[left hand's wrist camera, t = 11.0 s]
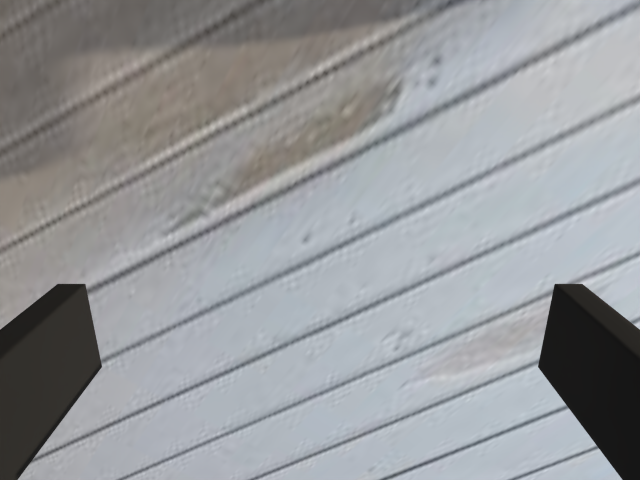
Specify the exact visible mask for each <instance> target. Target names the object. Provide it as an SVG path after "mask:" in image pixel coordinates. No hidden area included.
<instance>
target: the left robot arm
mask: <svg viewBox="0 0 640 480" xmlns="http://www.w3.org/2000/svg"><path fill="white" fill-rule="evenodd" d="M101 367H102V365H101V360H100V355H99V350H98V345H97V340H96V335H95V330H94V325H93V320H92V315H91V310H90V305H89V300H88V295H87V290H86V285H85V284H57V285H56V286H55V287H53V288H52V289H51V290H50V291H48V292H47V293H46V294H45V295H43V296H42V297H41V298H40V299H38V300H37V301H36V302H35V303H33V304H32V305H31V306H30V307H28V308H27V309H26V310H25V311H23V312H22V313H21V314H19V315H18V316H17V317H16V318H14V319H13V320H12V321H11V322H9V323H8V324H7V325H6V326H4V327H3V328H2V329H1V330H0V480H18V478H19V477H20V476H21V474H22V473H23V472H24V470H25V469H26V468H27V466H28V465H29V464H30V462H31V461H32V460H33V458H34V457H35V456H36V454H37V453H38V452H39V450H40V449H41V448H42V446H43V445H44V444H45V442H46V441H47V440H48V438H49V437H50V436H51V434H52V433H53V431H54V430H55V429H56V427H57V426H58V425H59V423H60V422H61V421H62V419H63V418H64V417H65V415H66V414H67V413H68V411H69V410H70V409H71V407H72V406H73V405H74V403H75V402H76V401H77V399H78V398H79V397H80V395H81V394H82V393H83V391H84V390H85V389H86V387H87V386H88V385H89V383H90V382H91V381H92V379H93V378H94V377H95V375H96V374H97V373H98V371H99V370H100V369H101ZM538 367H539V369H540V370H541V371H542V373H543V374H544V375H545V377H546V378H547V379H548V381H549V382H550V383H551V385H552V386H553V387H554V389H555V390H556V391H557V393H558V394H559V395H560V397H561V398H562V399H563V401H564V402H565V403H566V405H567V406H568V407H569V409H570V410H571V411H572V413H573V414H574V415H575V417H576V418H577V419H578V421H579V422H580V423H581V425H582V426H583V427H584V429H585V430H586V431H587V433H588V434H589V436H590V437H591V438H592V440H593V441H594V442H595V444H596V445H597V446H598V448H599V449H600V450H601V452H602V453H603V454H604V456H605V457H606V458H607V460H608V461H609V462H610V464H611V465H612V466H613V468H614V469H615V470H616V472H617V473H618V474H619V476H620V477H621V478H622V480H640V330H639V329H638V328H637V327H636V326H634V325H633V324H632V323H631V322H629V321H628V320H627V319H626V318H624V317H623V316H622V315H621V314H619V313H618V312H617V311H615V310H614V309H613V308H612V307H610V306H609V305H608V304H607V303H605V302H604V301H603V300H602V299H600V298H599V297H598V296H597V295H595V294H594V293H593V292H592V291H590V290H589V289H588V288H587V287H585V286H584V285H583V284H555V285H554V290H553V295H552V300H551V305H550V310H549V315H548V320H547V325H546V330H545V335H544V340H543V345H542V350H541V355H540V360H539V365H538Z"/></svg>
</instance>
